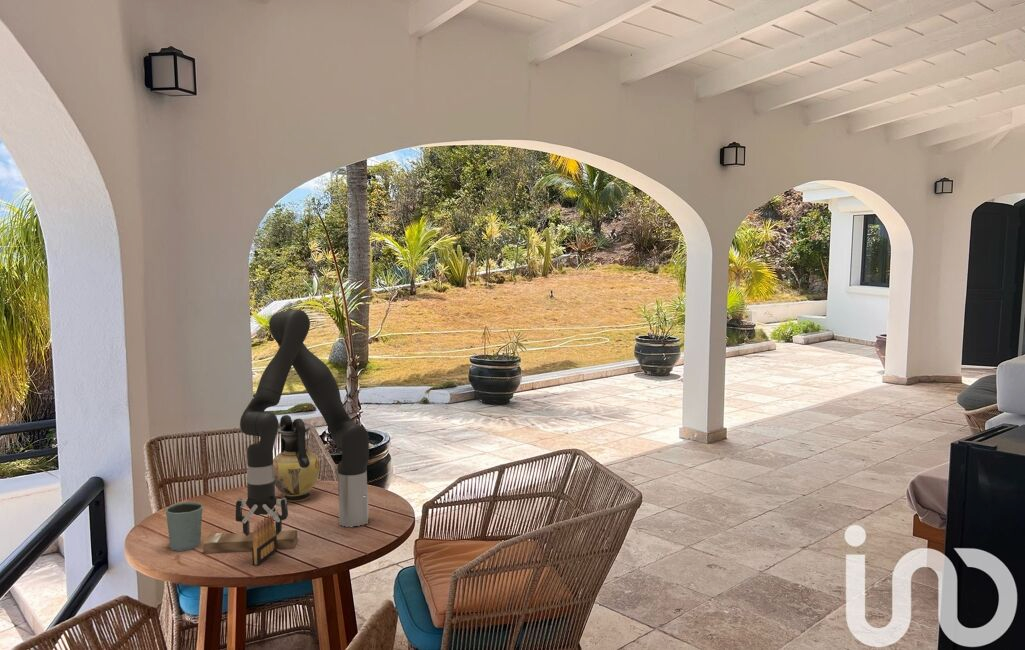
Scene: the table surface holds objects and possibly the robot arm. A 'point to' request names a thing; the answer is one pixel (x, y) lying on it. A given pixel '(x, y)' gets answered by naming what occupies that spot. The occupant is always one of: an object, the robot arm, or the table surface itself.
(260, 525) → the ammunition clip
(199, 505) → the grey-green cup
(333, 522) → the table surface
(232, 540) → the plank
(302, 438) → the amphora
